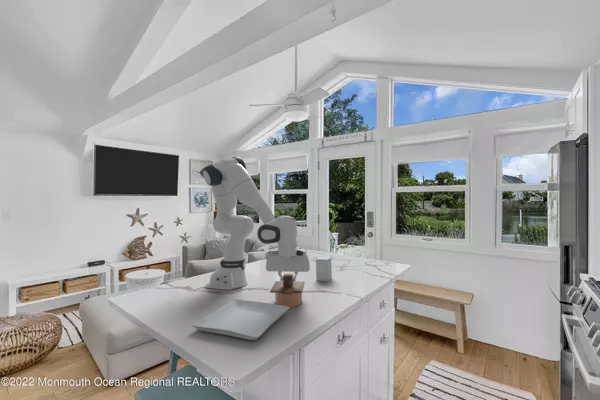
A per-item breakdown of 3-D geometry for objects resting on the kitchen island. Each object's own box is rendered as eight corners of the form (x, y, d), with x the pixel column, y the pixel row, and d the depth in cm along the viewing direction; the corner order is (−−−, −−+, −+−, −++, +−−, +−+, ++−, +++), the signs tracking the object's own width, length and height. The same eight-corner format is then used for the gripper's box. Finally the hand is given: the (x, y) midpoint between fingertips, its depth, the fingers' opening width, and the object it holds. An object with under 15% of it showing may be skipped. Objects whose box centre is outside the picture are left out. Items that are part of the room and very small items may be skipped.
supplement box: (332, 278, 168) (331, 257, 168) (327, 281, 161) (327, 259, 161) (320, 277, 171) (320, 256, 171) (315, 280, 165) (315, 258, 164)
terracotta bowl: (273, 306, 126) (273, 293, 126) (278, 297, 138) (278, 285, 137) (300, 307, 124) (300, 293, 124) (302, 297, 136) (302, 285, 136)
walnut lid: (270, 292, 124) (269, 279, 124) (275, 282, 138) (275, 271, 138) (302, 293, 123) (301, 279, 123) (304, 283, 137) (304, 271, 137)
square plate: (235, 306, 128) (234, 298, 128) (290, 315, 118) (290, 305, 118) (191, 334, 102) (191, 323, 102) (257, 347, 92) (257, 335, 92)
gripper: (264, 252, 128) (264, 282, 129) (309, 252, 127) (309, 283, 127) (266, 249, 135) (267, 278, 135) (309, 249, 133) (310, 279, 133)
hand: (288, 280), depth 131 cm, fingers closed on walnut lid, 4 cm apart
